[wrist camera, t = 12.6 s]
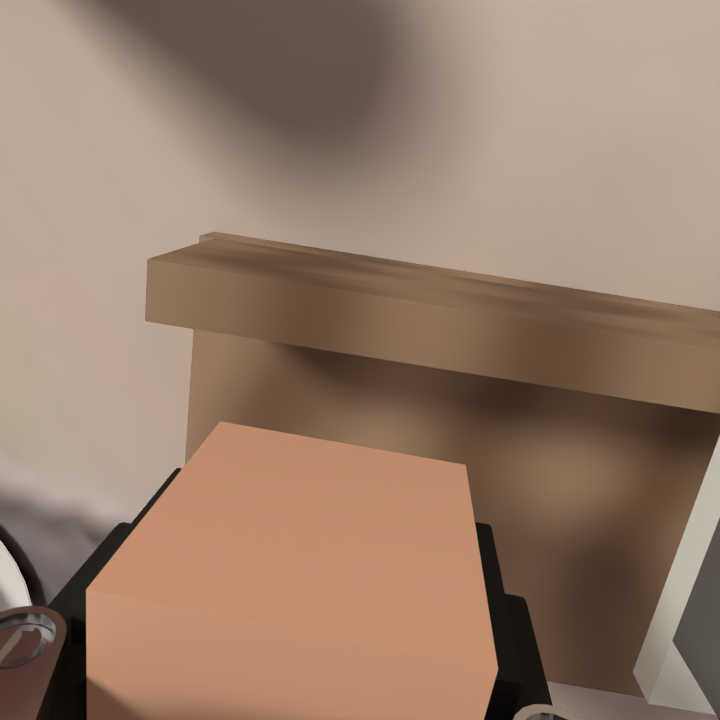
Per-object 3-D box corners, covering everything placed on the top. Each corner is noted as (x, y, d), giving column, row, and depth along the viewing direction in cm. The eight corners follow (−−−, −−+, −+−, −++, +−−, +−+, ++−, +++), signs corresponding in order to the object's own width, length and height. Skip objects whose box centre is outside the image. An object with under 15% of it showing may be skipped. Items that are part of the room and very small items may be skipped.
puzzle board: (827, 328, 20) (1035, 400, 13) (686, 676, 24) (791, 855, 18) (214, 231, 20) (126, 255, 14) (188, 592, 24) (113, 737, 18)
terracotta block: (465, 464, 12) (497, 668, 7) (420, 659, 13) (421, 935, 8) (220, 421, 12) (85, 589, 7) (205, 617, 13) (87, 863, 9)
